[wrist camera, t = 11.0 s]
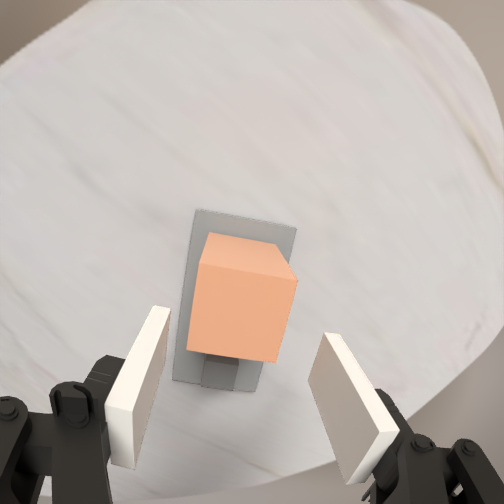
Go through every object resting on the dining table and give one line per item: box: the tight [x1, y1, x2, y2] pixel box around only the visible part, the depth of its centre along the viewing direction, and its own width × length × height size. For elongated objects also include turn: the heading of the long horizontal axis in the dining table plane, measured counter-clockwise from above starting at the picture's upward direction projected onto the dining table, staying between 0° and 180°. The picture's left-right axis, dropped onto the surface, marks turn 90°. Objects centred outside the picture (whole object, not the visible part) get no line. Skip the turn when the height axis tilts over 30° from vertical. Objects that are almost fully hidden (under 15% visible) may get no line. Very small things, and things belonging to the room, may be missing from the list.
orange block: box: [186, 232, 298, 363], centre depth 21 cm, size 5×5×9 cm
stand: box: [172, 209, 297, 392], centre depth 23 cm, size 8×16×9 cm, turn 169°
